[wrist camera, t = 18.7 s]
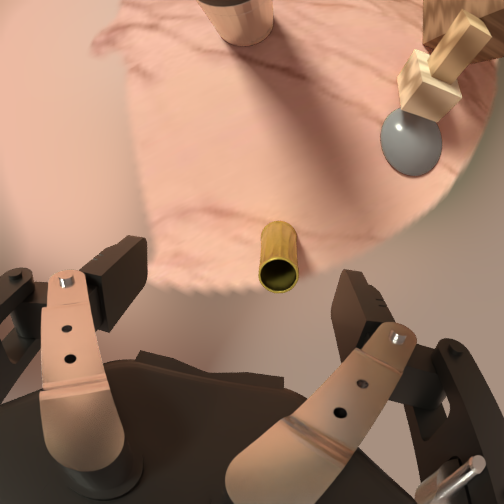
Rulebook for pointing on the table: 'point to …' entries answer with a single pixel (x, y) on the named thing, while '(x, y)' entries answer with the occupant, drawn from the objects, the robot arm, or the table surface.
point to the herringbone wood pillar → (445, 12)
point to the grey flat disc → (410, 142)
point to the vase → (278, 257)
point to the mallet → (441, 69)
